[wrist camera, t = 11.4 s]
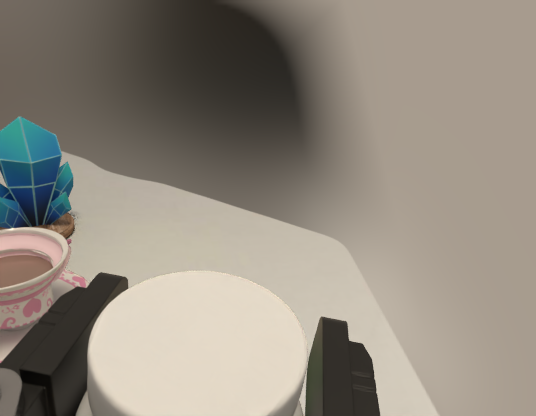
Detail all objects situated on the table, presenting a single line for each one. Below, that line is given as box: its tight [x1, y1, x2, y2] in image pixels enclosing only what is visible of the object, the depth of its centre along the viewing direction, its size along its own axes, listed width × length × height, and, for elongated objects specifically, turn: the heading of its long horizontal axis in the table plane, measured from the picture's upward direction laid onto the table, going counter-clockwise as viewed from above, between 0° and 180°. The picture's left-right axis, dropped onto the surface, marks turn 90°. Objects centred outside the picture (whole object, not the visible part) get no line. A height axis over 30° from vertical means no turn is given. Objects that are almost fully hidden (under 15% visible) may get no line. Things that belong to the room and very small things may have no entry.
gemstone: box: [0, 116, 74, 238], centre depth 41 cm, size 7×9×12 cm
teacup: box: [0, 227, 89, 363], centre depth 32 cm, size 12×12×6 cm
